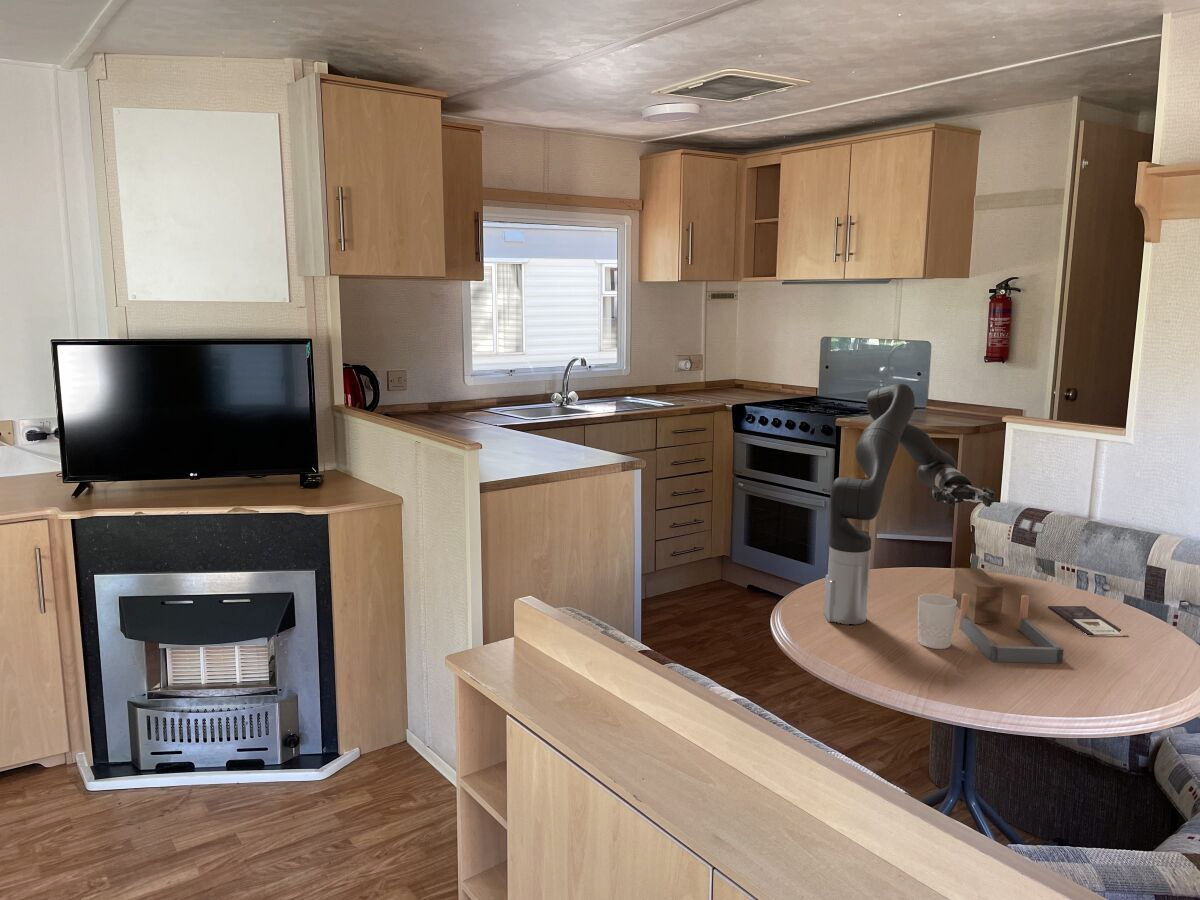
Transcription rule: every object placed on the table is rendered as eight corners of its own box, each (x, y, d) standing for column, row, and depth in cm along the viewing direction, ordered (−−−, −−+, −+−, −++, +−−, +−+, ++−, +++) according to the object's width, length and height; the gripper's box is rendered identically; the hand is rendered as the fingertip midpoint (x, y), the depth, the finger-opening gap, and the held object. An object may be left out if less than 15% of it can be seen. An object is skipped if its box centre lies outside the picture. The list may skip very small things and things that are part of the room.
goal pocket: (990, 661, 187) (993, 624, 186) (958, 626, 206) (960, 593, 205) (1063, 663, 187) (1067, 626, 185) (1024, 628, 206) (1027, 595, 204)
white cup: (947, 637, 200) (951, 594, 199) (957, 651, 193) (961, 606, 191) (911, 635, 201) (914, 592, 199) (919, 649, 193) (923, 605, 192)
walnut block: (973, 623, 209) (977, 586, 207) (952, 603, 223) (955, 567, 221) (1000, 624, 209) (1003, 587, 207) (976, 603, 223) (980, 568, 221)
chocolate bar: (1084, 606, 220) (1127, 634, 202) (1084, 609, 220) (1127, 638, 202) (1048, 606, 220) (1087, 633, 202) (1047, 609, 220) (1087, 637, 202)
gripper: (926, 470, 238) (942, 487, 223) (982, 471, 237) (1002, 488, 221) (924, 497, 240) (940, 516, 224) (979, 499, 239) (999, 517, 223)
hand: (971, 502), depth 223 cm, fingers open, 8 cm apart
